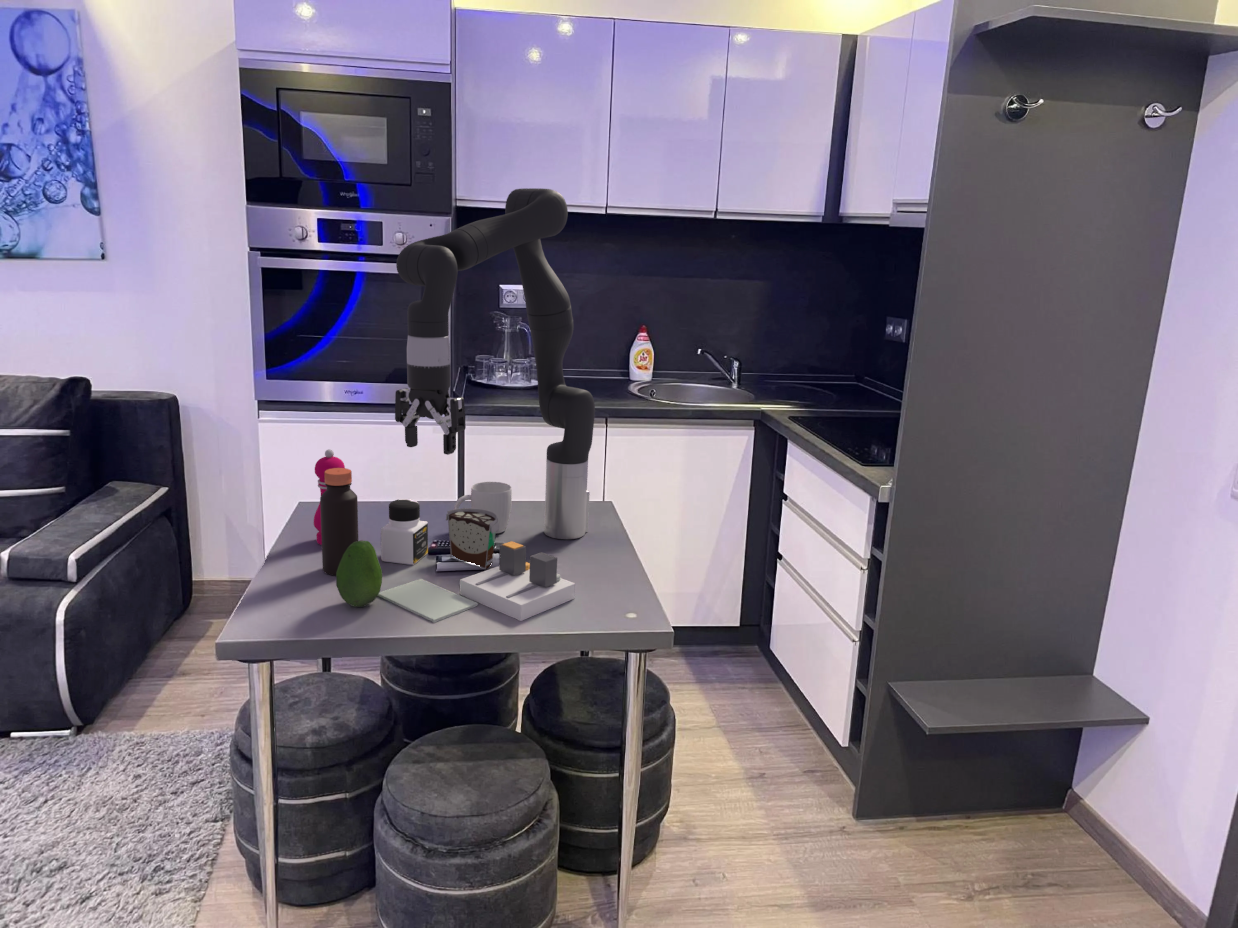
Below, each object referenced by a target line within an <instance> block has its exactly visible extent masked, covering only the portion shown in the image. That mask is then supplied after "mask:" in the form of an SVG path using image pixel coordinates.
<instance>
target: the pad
mask: <svg viewBox="0 0 1238 928" xmlns="http://www.w3.org/2000/svg"><path fill="white" fill-rule="evenodd" d="M377 597H379V598H381V599H384V600H385V601H388V602H390V603H392V604H394V605H396V606H399V607H401V608H403V609H405V610H406V611H409V612H411V613H413V614H415V615H417V616H419V617H422V618H424V619H426V620H428V621H430V622H432V623H437V622H439V621H442V620H445V619H447V618H450V617H452V616H454V615H457V614H458V615H459V614H460V613H463V612H465V611H467V610H471V609H473V608H476V607H478V605H479V603H478V602H476V601H473V600H471V599H469V598H467V597H464V596H462V595H460V594H457V593H455V592H453V591H450V590H448V589H445V588H444V587H441V586H439V585H437V584H434V583H432V582H430V581H427V580H425V579H423V578H419V579H415V580H413V581H410V582H407V583H404V584H401V585H397V586H395V587H391V588H389V589H386V590H383V591H380V592H379V594H378V595H377Z"/></svg>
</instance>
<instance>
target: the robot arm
mask: <svg viewBox="0 0 1238 928" xmlns="http://www.w3.org/2000/svg"><path fill="white" fill-rule="evenodd" d="M504 208H505V209H504V210H505V214H500V215H496V216H493V217H487V218H483V219H479V220H476V221H472V222H470V223H467V224H465V225H463V226H460V227H459V228H456V229H454V230H452V231H449V232H448V233H445V234H441V235H437V236H432V237H429V238H425V239H421V240H417V241H414V242H412V243H409V244H408V245H406V246H405V247H404V248H403V249H402V250H401V251H400V252H399V254H398V256H397V259H396V264H395V265H396V270H397V273H398V276H399V277H400V278H401V279H402V280H403V281H404V282H405V283H407V284H409V285H413V286H419V287H424V291H423V294H422V297H421V299H418V300H415V301H412V302H410V303H409V304H408V307H407V314H406V316H407V343H406V376H407V377H406V378H407V379H406V380H407V381H406V383H407V387H408V388H407V387H405V388H400V389H398V390H397V389H396V391H395V396H394V398H395V401H394V404H395V405H394V406H395V407H394V420H395V423H400V424H402V425H403V427H404V441H405V444H406V447H408V448H414V447H415V448H416V447H417V446H418V443H419V442H418V440H419V439H418V425H416V424H417V423H418V421H419V420H420V418H426V419H427V418H428V419H430V420H434V421H435V423H436V424H437V425H439V426H440V428H441V430H442V431H443V434H442V435H443V441H442V442H443V444H442V445H443V454H444V455H447V456H448V455H451V454H454V452H455V451H456V449H457V433H458V432H461V431H464V430H466V429H467V428H466V427H467V426H466V424H467V423H466V409H465V406H466V405H465V399H464V397H463V396H459V397H451V396H450V394H449V391H450V388H451V385H452V383H451V382H452V379H451V377H452V376H451V346H450V345H451V344H450V336H449V333H450V332H449V329H450V328H449V326H450V325H449V311H450V308H451V304H452V300H453V297H454V294H455V293H454V292H455V288H456V284H457V279H458V272H459V271H460V272H461V271H464V270H465V271H466V270H468V269H471V268H473V267H474V266H476V265H478V264H480V263H483V262H484V261H486V260H488V259H490V258H494V257H495V256H497V255H499V254H501V253H503V252H506V251H508V250H510V249H513V251H514V252H513V253H514V255H515V258H516V263H517V266H518V267H517V268H518V272H519V275H520V280H521V281H520V282H521V286H522V291H523V295H524V301H525V302H524V303H525V309H526V316H527V321H528V326H529V327H528V328H529V330H530V337H531V341H532V347H533V355H534V362H535V367H536V376H537V377H536V378H537V395H538V403H539V404H538V405H539V410H540V411H539V412H540V415H541V418H542V419H543V421H544V422H545V423H546V424H548V425H549V426H551V427H554V428H560V429H564V431H563V438H562V441H557V442H553V443H550V444H549V445H548V446H547V448H546V458H545V459H546V460H545V461H546V462H545V463H546V465H545V466H546V467H545V497H544V498H545V499H544V526H543V527H544V528H543V529H544V531H543V533H544V535H546V536H547V537H549V538H552V539H558V540H574V539H575V540H576V539H579V538H582V537H584V536H585V535H586V533H587V532H589V512H590V496H591V495H590V493H591V492H590V491H589V490H588V475H589V473H588V472H589V470H588V468H589V453H590V451H591V448H592V444H593V436H594V434H593V433H594V428H595V427H594V425H595V413H596V406H595V401H594V397H593V395H592V393H591V392H590V391H588V390H586V389H583V388H578V387H573V386H568V385H567V384H566V382H565V381H566V380H565V377H564V371H563V370H564V368H563V362H564V357H565V353H566V351H567V349H568V347H569V345H570V343H571V340H572V337H573V335H574V334H573V333H574V326H575V325H574V317H573V311H572V304H571V299H570V296H569V293H568V292H567V290H566V288H565V287H564V284H563V283H562V281H561V280H560V278H559V277H558V276H557V274H556V273H555V271H554V270H553V268H552V266H550V264H549V262H548V260H547V258H546V256H545V252H544V250H543V245H542V241H541V239H546V238H550V237H555V236H557V235H558V234H560V233H561V232H562V230H564V228H565V226H566V224H567V221H568V217H569V216H568V214H569V211H568V205H567V201H566V200H565V198H564V196H563V195H562V194H561V193H560V192H558V191H557V190H554V189H551V188H539V187H538V188H516V189H513V190H512V191H510V192H509V194H508V196H507V198H506V201H505V207H504ZM410 403H411V406H410ZM443 415H444V416H443Z"/></svg>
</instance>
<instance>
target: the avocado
mask: <svg viewBox="0 0 1238 928" xmlns="http://www.w3.org/2000/svg"><path fill="white" fill-rule="evenodd" d="M335 578H336V579H335V581H336V584H335V585H336V587H337V591H338V592H339V593H338V594H339V595H340V597H341V598H342V600H343V601H344V602H345V603H346V604H348V605H350V606H351V607H359V608H360V607H362V608H364V607H365V606H367V605H369V604H371V603H373V602H374V601H375V600H376V598H377V597H378V596H377V595H378V594H379V592H381V589H382V585H383V570H382V568H381V564H380V561H379V559H378V555H377V553H376V549H375V547H374V545H372V543H371V542H370V541H368V540H363V539H361V540H358V541H356V542H353V543H352V544H351V545H350V546H349V547H348V548H347V549H346V551H345V553H344V554H343V557H342V559H341V561H340V563H339V566H338V569H337V572H336V576H335Z"/></svg>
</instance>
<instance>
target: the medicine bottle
mask: <svg viewBox="0 0 1238 928" xmlns="http://www.w3.org/2000/svg"><path fill="white" fill-rule="evenodd" d="M420 509H421V505H420V503H419V502H418V501H416V500H414V499H410V498H399V499H395V500H393V501H391V502H390V503H389V504H388V523H387V524H385V525H384V526H382V527H381V528H380V551H381V552H380V553H381V556H380V557H381V561H382V562H387V563H394V564H401V565H410V566H414V565H415V564H417V563H418V562H420V561H421V559H423V558H424V557H425V556H427V555H428V553H429V531H428V530H429V525H428V523H429V522H428V521H426V520H425V521H424V520H421V515H420V514H421V513H420V512H421V510H420Z"/></svg>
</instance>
